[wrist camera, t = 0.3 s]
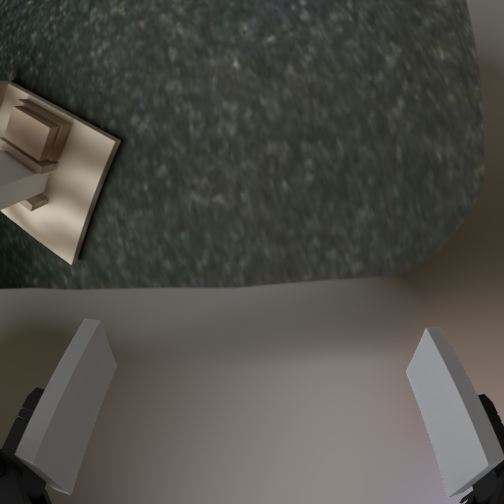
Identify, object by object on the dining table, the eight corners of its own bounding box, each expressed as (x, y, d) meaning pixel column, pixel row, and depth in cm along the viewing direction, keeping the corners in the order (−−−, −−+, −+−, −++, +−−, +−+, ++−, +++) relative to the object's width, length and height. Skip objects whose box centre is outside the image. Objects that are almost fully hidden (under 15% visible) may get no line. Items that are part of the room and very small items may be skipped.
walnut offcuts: (27, 98, 33) (7, 99, 29) (72, 124, 34) (53, 126, 30) (16, 131, 34) (-3, 134, 31) (59, 159, 36) (40, 164, 32)
